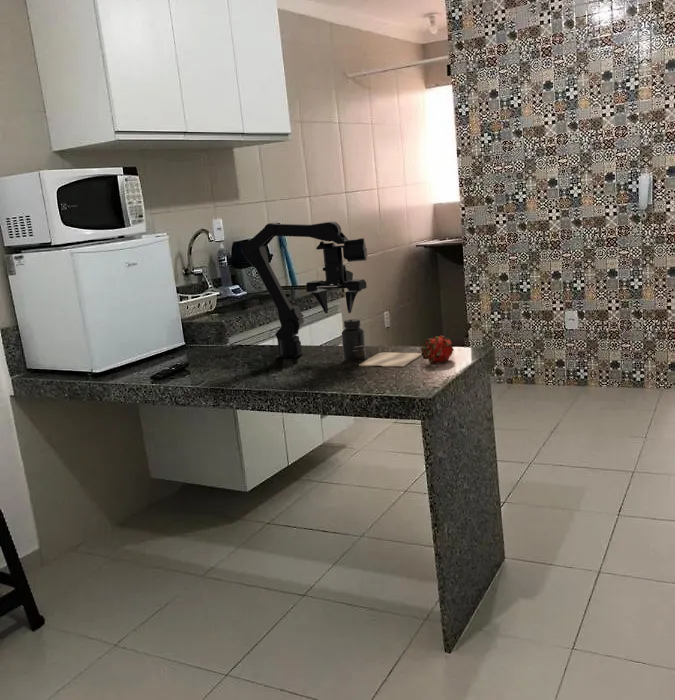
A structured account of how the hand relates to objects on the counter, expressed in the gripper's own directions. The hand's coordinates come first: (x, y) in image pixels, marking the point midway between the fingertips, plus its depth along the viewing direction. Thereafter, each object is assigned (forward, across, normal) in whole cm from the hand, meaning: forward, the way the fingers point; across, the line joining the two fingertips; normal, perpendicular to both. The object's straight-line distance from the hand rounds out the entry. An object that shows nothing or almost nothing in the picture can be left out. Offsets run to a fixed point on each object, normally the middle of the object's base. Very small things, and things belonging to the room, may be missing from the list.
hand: (338, 313), depth 233 cm
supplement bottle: (+13, -8, +7) cm, 17 cm away
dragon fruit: (+13, -35, +7) cm, 38 cm away
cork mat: (+13, -20, +7) cm, 25 cm away
